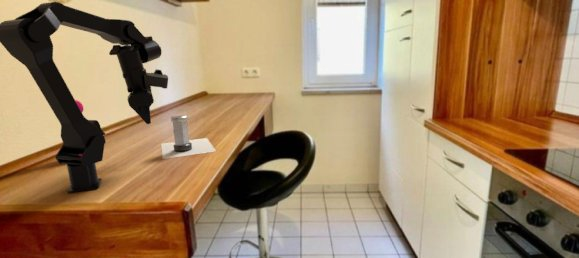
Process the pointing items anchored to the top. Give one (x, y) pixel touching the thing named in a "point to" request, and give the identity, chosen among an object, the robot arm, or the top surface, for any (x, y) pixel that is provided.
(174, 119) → the silver and black cylinder
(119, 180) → the top surface
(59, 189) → the top surface
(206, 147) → the felt mat
